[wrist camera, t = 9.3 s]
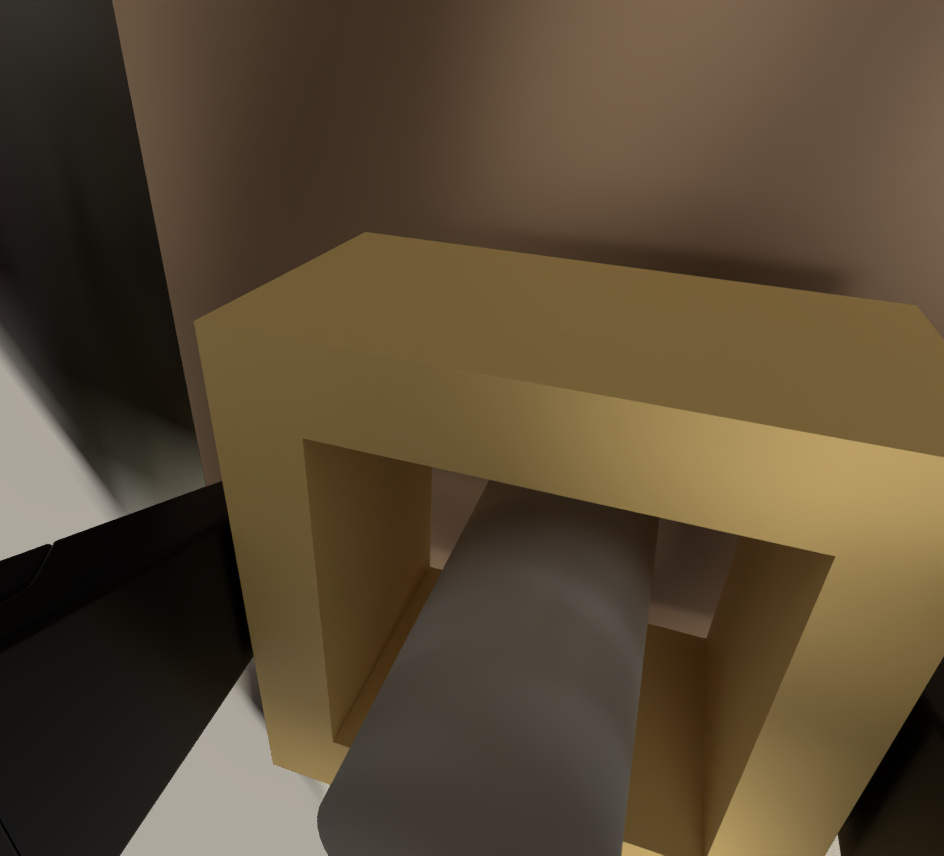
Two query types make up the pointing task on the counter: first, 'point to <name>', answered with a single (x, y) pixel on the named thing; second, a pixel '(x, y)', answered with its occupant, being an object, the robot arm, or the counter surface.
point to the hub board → (548, 234)
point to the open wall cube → (598, 502)
